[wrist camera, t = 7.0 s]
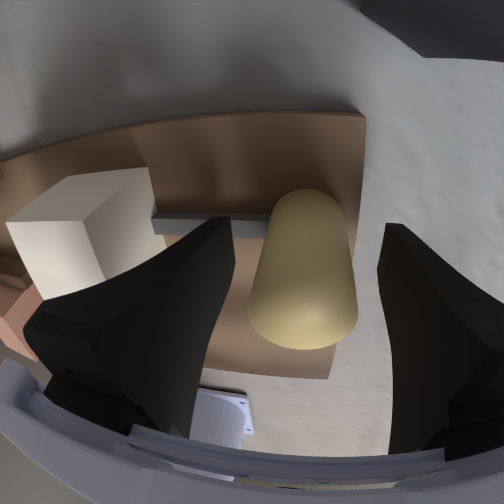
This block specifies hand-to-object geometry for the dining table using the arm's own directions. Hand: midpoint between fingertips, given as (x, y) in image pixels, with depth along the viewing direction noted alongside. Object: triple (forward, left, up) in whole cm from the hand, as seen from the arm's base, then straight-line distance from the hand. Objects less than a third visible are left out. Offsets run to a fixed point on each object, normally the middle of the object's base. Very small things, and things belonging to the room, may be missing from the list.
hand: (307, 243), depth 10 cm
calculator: (+12, -6, -3) cm, 14 cm away
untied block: (-8, +22, -2) cm, 23 cm away
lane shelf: (-4, +12, -3) cm, 13 cm away
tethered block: (0, +5, -2) cm, 5 cm away
